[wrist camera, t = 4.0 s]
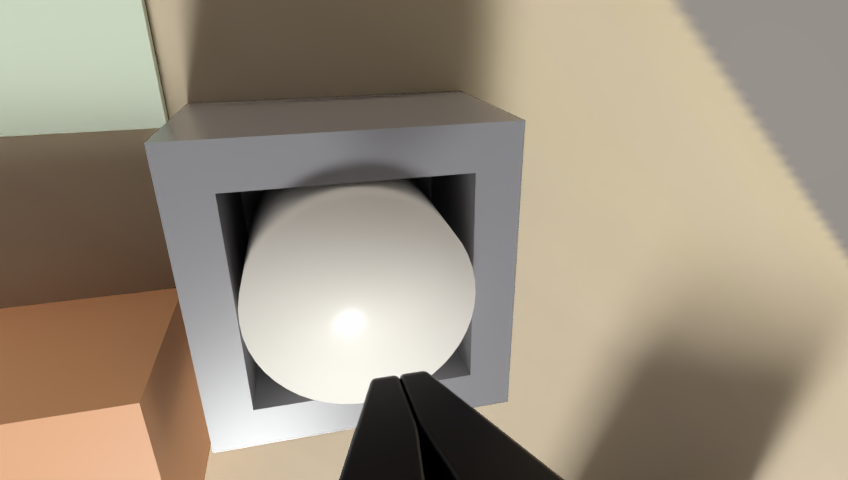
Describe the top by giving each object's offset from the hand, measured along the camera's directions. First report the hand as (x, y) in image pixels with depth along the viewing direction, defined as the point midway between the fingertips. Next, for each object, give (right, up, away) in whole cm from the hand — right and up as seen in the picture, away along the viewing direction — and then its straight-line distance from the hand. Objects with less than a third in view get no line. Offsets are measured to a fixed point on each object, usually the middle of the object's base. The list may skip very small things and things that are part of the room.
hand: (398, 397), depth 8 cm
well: (-2, +3, +7) cm, 8 cm away
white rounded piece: (-2, +3, +6) cm, 7 cm away
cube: (-9, -1, +7) cm, 12 cm away
